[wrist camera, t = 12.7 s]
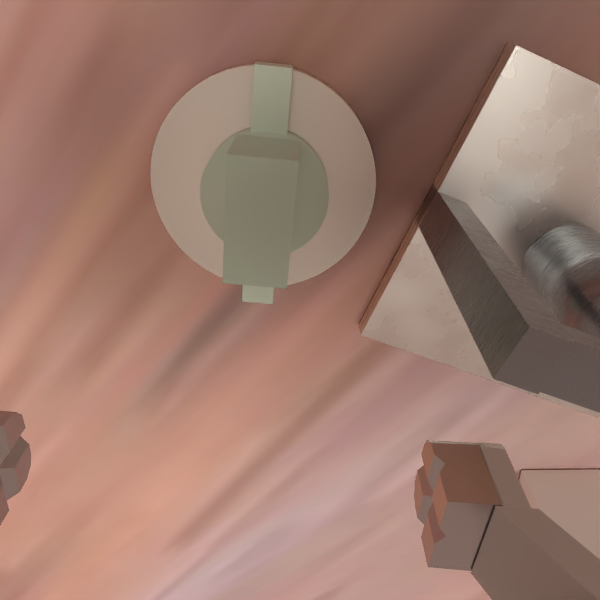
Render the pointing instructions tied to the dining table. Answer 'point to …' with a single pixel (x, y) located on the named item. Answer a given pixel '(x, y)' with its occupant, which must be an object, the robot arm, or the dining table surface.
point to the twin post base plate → (509, 242)
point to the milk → (568, 501)
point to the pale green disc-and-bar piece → (264, 190)
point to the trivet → (237, 116)
